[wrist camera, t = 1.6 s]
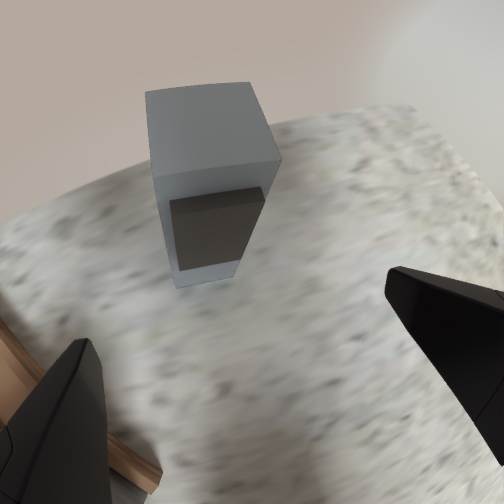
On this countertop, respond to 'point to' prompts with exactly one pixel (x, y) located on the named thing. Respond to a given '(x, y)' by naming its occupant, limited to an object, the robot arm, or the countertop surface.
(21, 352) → the walnut rail
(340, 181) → the countertop surface
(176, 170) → the slate finger
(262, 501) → the countertop surface
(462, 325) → the robot arm
